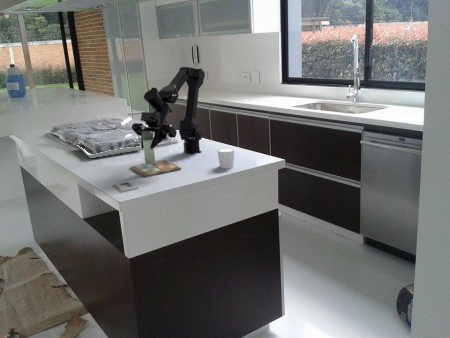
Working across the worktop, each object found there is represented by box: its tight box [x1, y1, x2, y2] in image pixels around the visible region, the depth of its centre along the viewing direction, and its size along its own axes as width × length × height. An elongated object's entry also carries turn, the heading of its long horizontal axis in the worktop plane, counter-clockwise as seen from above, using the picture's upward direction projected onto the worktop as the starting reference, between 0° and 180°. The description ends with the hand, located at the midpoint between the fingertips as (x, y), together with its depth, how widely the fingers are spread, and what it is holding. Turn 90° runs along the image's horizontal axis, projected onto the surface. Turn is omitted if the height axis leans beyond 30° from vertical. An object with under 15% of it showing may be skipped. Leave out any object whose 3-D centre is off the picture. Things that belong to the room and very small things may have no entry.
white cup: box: [217, 147, 235, 169], centre depth 177 cm, size 7×7×7 cm
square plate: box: [76, 144, 143, 159], centre depth 215 cm, size 27×27×4 cm
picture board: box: [129, 159, 182, 178], centre depth 179 cm, size 16×16×1 cm
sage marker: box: [142, 130, 156, 165], centre depth 172 cm, size 4×4×13 cm
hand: (146, 148), depth 171 cm, fingers closed on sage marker, 4 cm apart
